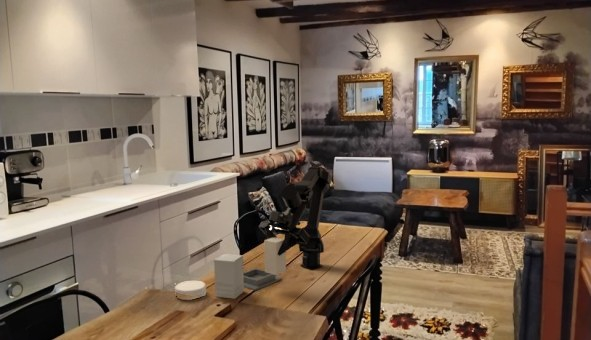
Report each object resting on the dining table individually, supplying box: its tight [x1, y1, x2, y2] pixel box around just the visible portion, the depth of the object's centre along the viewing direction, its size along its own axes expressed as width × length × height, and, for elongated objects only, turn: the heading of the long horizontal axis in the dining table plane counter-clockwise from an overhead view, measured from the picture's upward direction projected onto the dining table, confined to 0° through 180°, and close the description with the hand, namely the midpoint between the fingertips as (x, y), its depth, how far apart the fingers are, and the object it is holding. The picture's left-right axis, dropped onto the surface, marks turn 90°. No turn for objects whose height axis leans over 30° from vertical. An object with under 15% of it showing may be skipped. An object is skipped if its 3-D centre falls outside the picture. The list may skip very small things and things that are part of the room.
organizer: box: [243, 267, 283, 291], centre depth 169 cm, size 14×12×3 cm
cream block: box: [264, 236, 287, 276], centre depth 158 cm, size 5×5×11 cm
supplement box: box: [213, 253, 245, 300], centre depth 156 cm, size 7×7×13 cm
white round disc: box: [174, 280, 207, 297], centre depth 156 cm, size 10×10×4 cm
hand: (272, 253), depth 157 cm, fingers closed on cream block, 5 cm apart
